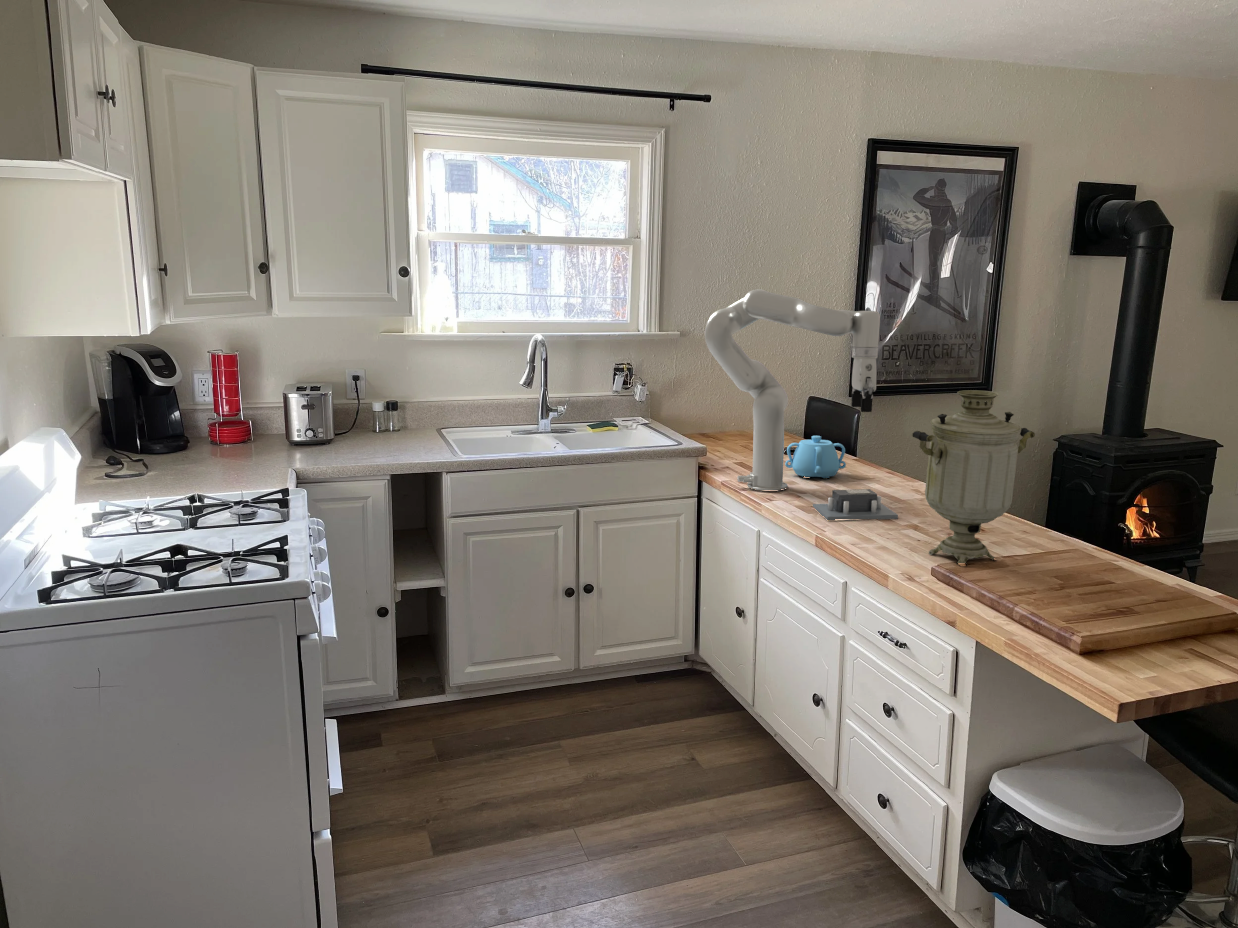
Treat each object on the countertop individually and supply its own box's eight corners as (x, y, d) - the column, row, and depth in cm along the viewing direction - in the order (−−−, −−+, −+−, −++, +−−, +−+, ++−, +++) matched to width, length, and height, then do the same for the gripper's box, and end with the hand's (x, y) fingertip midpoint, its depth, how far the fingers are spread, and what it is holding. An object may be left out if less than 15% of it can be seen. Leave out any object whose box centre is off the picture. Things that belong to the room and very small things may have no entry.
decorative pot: (815, 468, 318) (817, 430, 315) (850, 477, 305) (851, 437, 302) (780, 474, 310) (781, 435, 307) (814, 483, 296) (815, 442, 294)
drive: (838, 512, 257) (839, 494, 256) (831, 506, 262) (832, 489, 261) (876, 511, 257) (877, 493, 256) (868, 505, 263) (869, 488, 262)
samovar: (996, 537, 236) (1009, 383, 228) (1046, 569, 211) (1062, 397, 202) (882, 539, 236) (891, 384, 227) (918, 572, 210) (929, 399, 202)
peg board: (827, 520, 252) (828, 504, 252) (812, 508, 266) (813, 492, 265) (897, 518, 254) (898, 502, 253) (879, 506, 268) (880, 490, 267)
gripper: (886, 355, 265) (882, 413, 269) (868, 350, 282) (865, 405, 286) (860, 355, 265) (857, 413, 269) (844, 350, 282) (841, 405, 286)
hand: (861, 409), depth 277 cm, fingers open, 9 cm apart
